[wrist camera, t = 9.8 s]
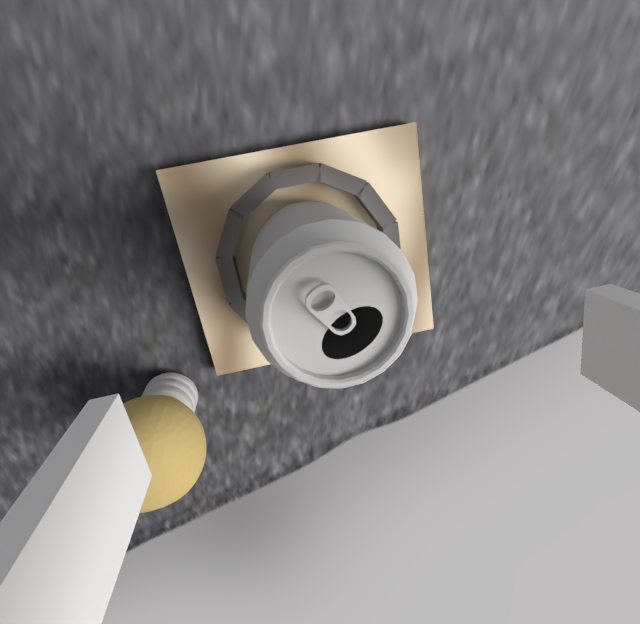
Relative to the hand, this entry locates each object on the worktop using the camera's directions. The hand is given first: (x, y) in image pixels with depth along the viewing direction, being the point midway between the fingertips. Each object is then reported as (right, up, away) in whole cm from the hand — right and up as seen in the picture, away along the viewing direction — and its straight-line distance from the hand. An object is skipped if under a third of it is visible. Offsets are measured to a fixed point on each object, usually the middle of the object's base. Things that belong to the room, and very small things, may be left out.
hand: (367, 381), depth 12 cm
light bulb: (-12, -4, +19) cm, 23 cm away
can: (-2, +6, +16) cm, 17 cm away
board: (-2, +6, +17) cm, 18 cm away
